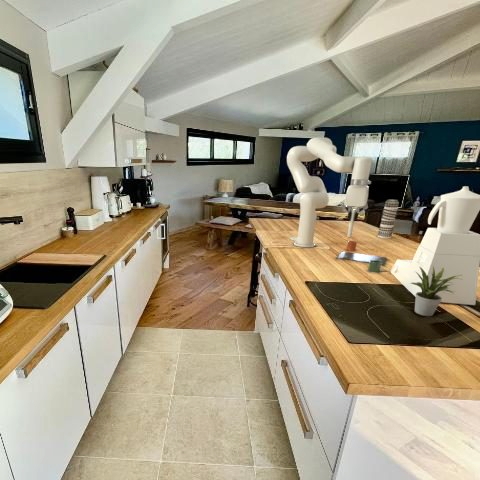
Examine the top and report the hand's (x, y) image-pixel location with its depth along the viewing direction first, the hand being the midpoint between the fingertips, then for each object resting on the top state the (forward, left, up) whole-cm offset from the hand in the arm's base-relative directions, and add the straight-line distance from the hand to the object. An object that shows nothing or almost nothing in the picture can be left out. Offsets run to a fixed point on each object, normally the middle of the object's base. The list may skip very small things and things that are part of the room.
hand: (352, 220), depth 163 cm
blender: (+36, -31, -20) cm, 51 cm away
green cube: (+16, -20, -20) cm, 32 cm away
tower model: (+13, +70, -20) cm, 74 cm away
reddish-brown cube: (0, +18, -20) cm, 27 cm away
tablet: (+8, 0, -20) cm, 21 cm away
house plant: (+36, -61, -20) cm, 74 cm away
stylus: (0, 0, -10) cm, 10 cm away
